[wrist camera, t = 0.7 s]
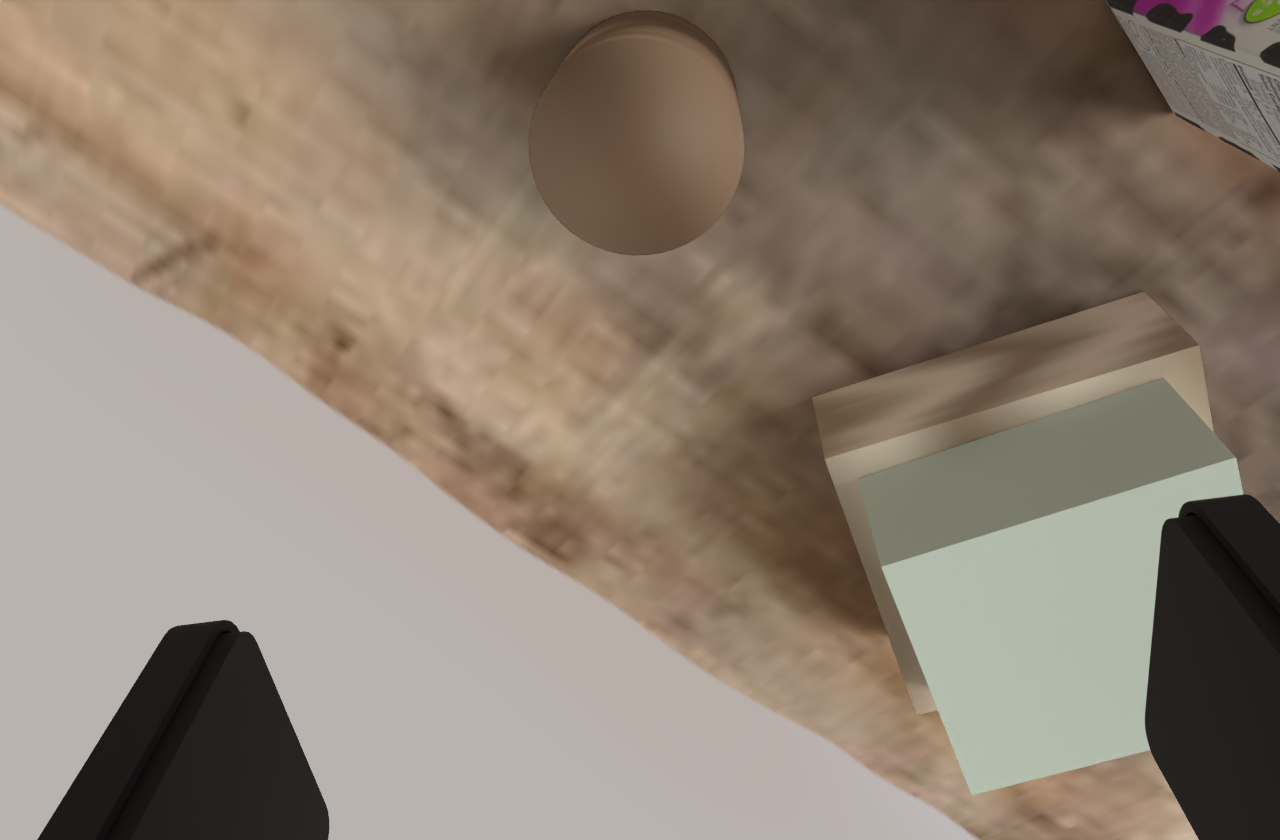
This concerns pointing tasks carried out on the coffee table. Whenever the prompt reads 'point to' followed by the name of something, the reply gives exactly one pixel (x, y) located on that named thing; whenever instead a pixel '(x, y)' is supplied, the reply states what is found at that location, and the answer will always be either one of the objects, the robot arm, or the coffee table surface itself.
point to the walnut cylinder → (639, 135)
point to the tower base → (992, 411)
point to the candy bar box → (1214, 65)
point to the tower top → (1043, 575)
